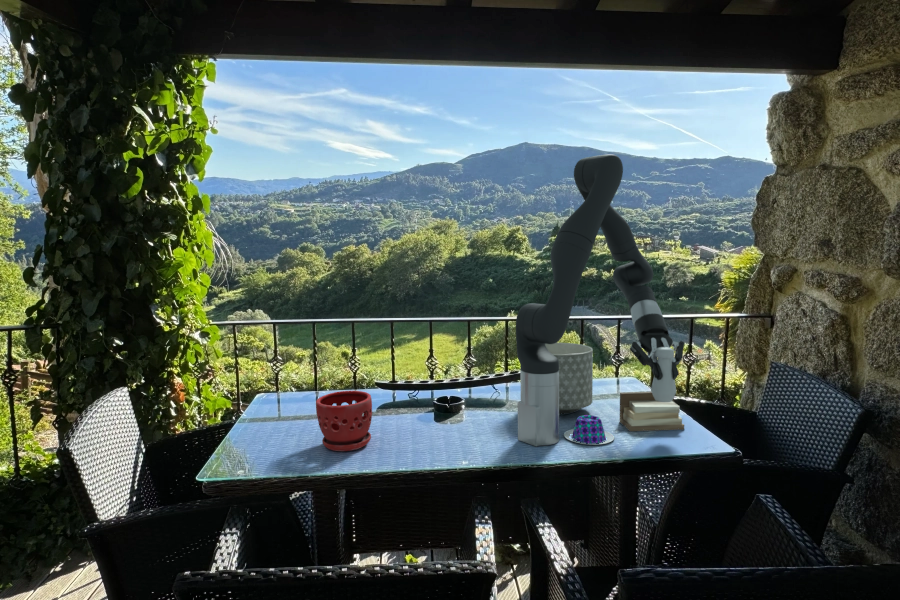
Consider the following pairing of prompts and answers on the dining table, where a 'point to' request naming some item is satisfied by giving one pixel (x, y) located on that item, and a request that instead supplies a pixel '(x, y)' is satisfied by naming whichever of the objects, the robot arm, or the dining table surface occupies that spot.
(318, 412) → the plant pot
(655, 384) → the salt shaker
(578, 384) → the planter
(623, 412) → the offcut rack
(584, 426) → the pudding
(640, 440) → the dining table surface
